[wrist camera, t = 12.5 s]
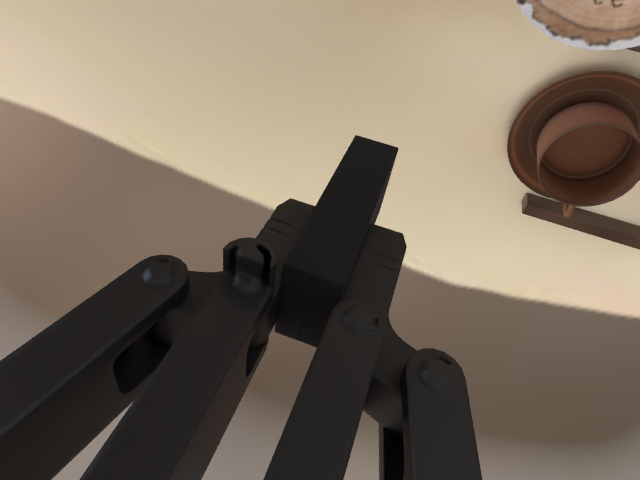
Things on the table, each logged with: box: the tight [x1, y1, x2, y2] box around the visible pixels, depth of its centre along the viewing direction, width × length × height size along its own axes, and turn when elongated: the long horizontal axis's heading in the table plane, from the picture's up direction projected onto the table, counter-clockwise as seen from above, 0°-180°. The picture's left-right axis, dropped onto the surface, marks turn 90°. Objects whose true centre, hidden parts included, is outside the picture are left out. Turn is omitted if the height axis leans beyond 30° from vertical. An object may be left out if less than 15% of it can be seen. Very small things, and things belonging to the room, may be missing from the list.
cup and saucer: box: [507, 71, 640, 218], centre depth 38 cm, size 12×12×6 cm
